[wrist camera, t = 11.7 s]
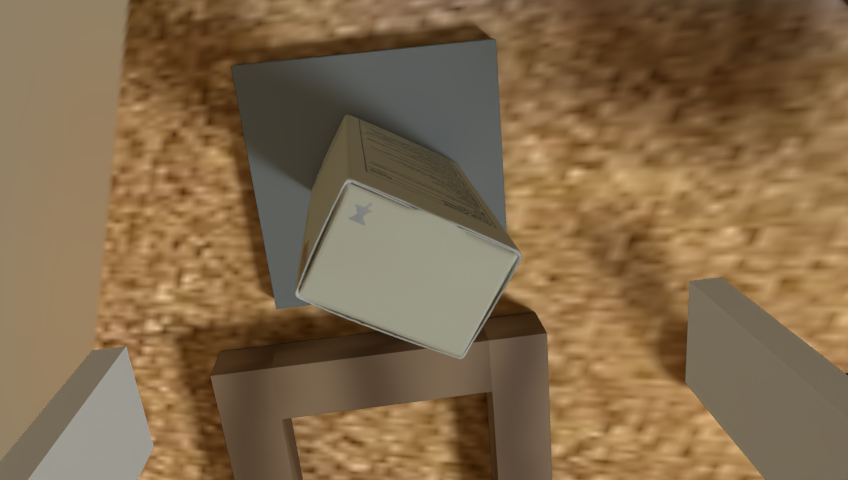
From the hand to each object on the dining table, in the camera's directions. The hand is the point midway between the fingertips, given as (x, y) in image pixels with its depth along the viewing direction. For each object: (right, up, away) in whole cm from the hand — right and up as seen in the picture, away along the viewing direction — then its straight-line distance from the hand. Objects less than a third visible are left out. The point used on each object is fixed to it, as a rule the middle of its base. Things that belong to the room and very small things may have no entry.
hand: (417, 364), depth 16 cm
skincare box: (-2, +6, +17) cm, 18 cm away
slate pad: (-2, +6, +17) cm, 19 cm away
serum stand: (-1, -10, +23) cm, 25 cm away
